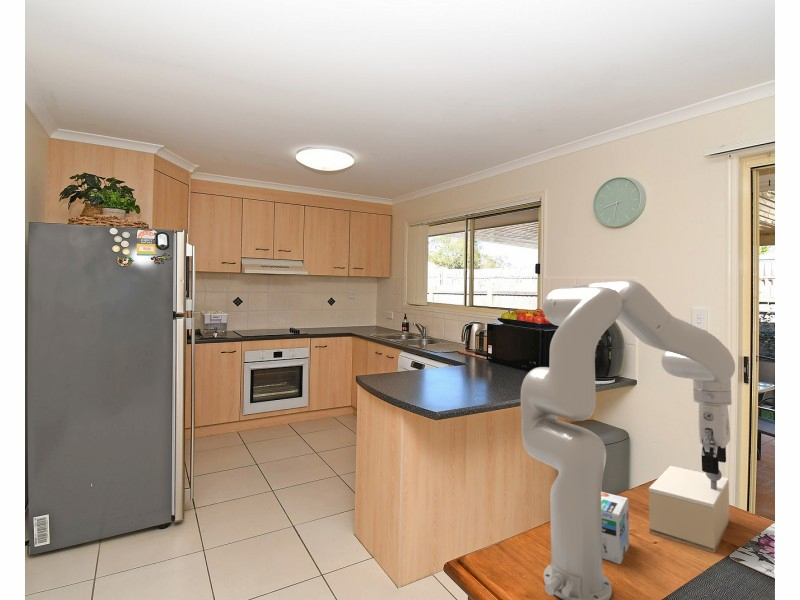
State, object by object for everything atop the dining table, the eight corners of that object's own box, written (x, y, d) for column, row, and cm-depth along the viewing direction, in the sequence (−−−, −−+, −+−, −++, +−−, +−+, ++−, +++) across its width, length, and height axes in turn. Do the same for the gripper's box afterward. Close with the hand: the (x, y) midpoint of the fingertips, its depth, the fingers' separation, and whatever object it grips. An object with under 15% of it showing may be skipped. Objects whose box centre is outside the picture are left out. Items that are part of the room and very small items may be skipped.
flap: (713, 508, 98) (713, 481, 98) (648, 491, 107) (648, 466, 107) (729, 481, 112) (728, 458, 112) (670, 468, 121) (670, 446, 121)
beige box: (714, 553, 98) (713, 508, 98) (649, 532, 107) (648, 491, 107) (729, 521, 112) (728, 481, 112) (671, 505, 121) (670, 468, 121)
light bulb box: (621, 565, 94) (620, 515, 94) (587, 555, 98) (587, 506, 98) (630, 543, 102) (629, 497, 102) (599, 534, 106) (598, 490, 106)
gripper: (724, 405, 97) (727, 482, 97) (736, 392, 110) (739, 460, 110) (685, 400, 103) (687, 473, 103) (701, 388, 115) (703, 453, 115)
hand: (714, 466), depth 106 cm, fingers open, 9 cm apart
